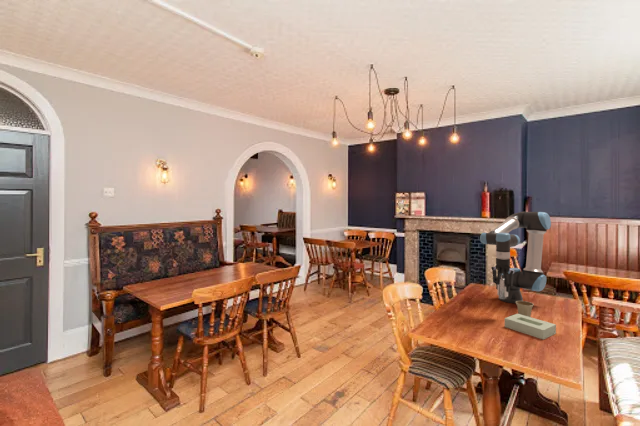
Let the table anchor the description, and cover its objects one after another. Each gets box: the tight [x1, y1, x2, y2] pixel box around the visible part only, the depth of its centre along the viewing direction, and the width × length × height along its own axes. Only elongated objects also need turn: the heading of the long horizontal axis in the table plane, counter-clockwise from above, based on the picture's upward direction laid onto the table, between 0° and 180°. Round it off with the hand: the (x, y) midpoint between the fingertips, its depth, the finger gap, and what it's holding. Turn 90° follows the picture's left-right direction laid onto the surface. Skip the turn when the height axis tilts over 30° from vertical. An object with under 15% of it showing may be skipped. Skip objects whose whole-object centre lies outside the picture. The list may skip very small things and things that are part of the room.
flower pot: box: [515, 300, 535, 317], centre depth 198 cm, size 9×9×9 cm
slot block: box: [504, 313, 557, 340], centre depth 178 cm, size 14×20×5 cm
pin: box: [498, 277, 506, 299], centre depth 196 cm, size 4×4×12 cm
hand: (502, 295), depth 196 cm, fingers closed on pin, 3 cm apart
